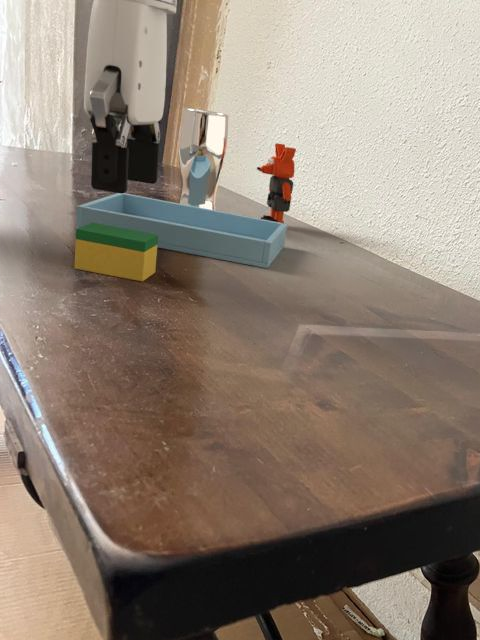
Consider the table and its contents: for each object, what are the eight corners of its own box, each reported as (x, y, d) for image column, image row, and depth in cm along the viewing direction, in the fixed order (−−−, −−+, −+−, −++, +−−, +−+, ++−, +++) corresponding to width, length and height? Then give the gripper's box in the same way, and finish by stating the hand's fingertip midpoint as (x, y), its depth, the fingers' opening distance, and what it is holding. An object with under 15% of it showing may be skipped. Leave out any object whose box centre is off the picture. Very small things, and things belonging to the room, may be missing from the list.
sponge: (74, 268, 75) (75, 228, 73) (90, 260, 79) (92, 222, 77) (142, 281, 75) (145, 242, 73) (155, 272, 79) (158, 234, 77)
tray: (75, 232, 90) (76, 205, 89) (118, 215, 104) (120, 192, 103) (267, 268, 90) (271, 242, 88) (284, 246, 104) (287, 224, 103)
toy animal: (243, 217, 120) (253, 138, 115) (274, 220, 122) (285, 144, 117) (258, 228, 113) (269, 145, 109) (291, 231, 116) (303, 150, 111)
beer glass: (185, 221, 108) (196, 111, 102) (164, 211, 113) (173, 105, 107) (227, 224, 112) (239, 117, 106) (205, 213, 117) (216, 111, 111)
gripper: (124, -6, 74) (118, 173, 81) (53, -37, 59) (52, 188, 65) (198, 6, 74) (185, 184, 81) (147, -22, 58) (136, 202, 65)
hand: (126, 185), depth 73 cm, fingers open, 9 cm apart
